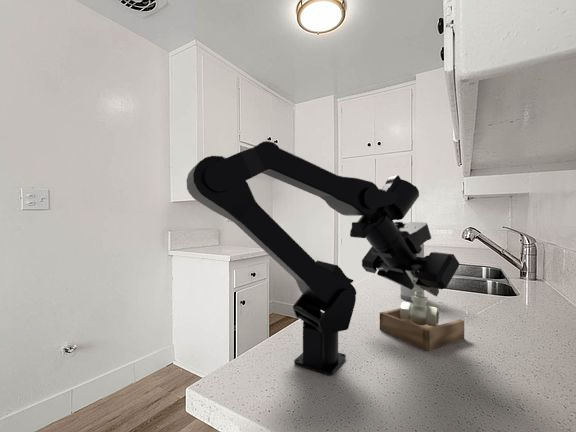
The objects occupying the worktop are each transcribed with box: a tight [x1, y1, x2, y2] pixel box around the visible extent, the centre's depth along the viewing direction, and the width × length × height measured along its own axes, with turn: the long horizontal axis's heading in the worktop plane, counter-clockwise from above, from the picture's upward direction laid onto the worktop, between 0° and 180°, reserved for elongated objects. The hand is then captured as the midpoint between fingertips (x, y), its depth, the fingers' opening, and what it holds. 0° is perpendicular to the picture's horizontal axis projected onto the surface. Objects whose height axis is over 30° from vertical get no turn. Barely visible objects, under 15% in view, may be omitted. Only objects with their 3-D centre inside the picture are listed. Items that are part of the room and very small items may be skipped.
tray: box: [379, 307, 465, 352], centre depth 57 cm, size 11×11×4 cm
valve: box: [399, 269, 440, 327], centre depth 57 cm, size 7×7×12 cm
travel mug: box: [400, 243, 425, 302], centre depth 83 cm, size 6×7×20 cm
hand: (424, 290), depth 58 cm, fingers closed on valve, 5 cm apart
